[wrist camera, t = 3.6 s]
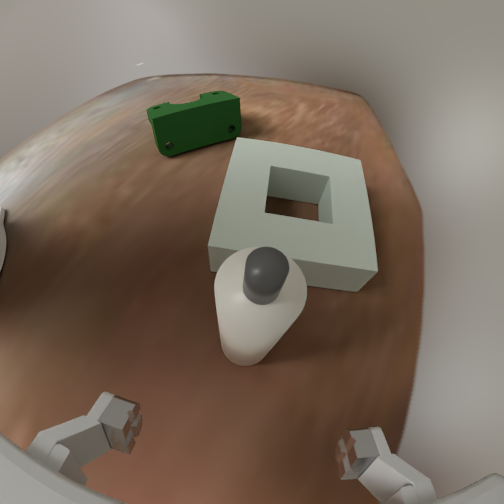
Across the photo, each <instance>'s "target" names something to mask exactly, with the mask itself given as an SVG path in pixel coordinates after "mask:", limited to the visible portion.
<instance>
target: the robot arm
mask: <svg viewBox="0 0 504 504" xmlns="http://www.w3.org/2000/svg"><path fill="white" fill-rule="evenodd" d="M4 215H5V210H4V209H3V208H2V207H1V206H0V272H1V269H2V265H3V262H4V257H5V252H6V233H5V229H4V225H3V222H4ZM139 411H140V404H139V403H137V402H134V401H131V400H128V399H125V398H122V397H120V396H117V395H114V394H111V393H109V392H106V391H105V392H103V393H102V394H101V395H100V397H99V398H98V400H97V401H96V403H95V404H94V406H93V407H92V409H91V410H90V412H89V413H88V415H87V416H84V415H83V416H80V417H78V418H75V419H73V420H70V421H67V422H65V423H62V424H59V425H57V426H54V427H51V428H48V429H46V430H43V431H40V432H39V433H38V435H37V436H36V437H35V439H34V440H33V442H32V443H31V444H30V446H29V447H28V448H27V450H26V451H24V450H23V449H22V448H20V447H19V446H17V445H16V444H15V443H13V442H12V441H11V440H9V439H8V438H7V437H6V436H4V435H3V434H2V433H1V432H0V504H127V503H124V502H121V501H119V500H116V499H114V498H111V497H109V496H106V495H104V494H101V493H99V492H97V491H95V490H92V489H90V488H88V487H86V486H85V484H86V482H87V477H86V475H85V474H84V473H83V471H82V470H81V468H80V467H82V466H84V465H86V464H87V463H89V462H91V461H92V460H94V459H96V458H97V457H99V456H101V455H102V454H104V453H106V452H107V451H109V450H111V448H112V449H115V450H118V451H120V452H123V453H126V454H131V451H132V449H133V447H134V445H135V440H134V438H135V437H136V436H138V435H139V433H140V431H141V427H142V415H141V414H140V413H139ZM342 436H343V438H342V439H340V440H338V442H337V444H336V446H335V460H336V461H337V462H338V463H339V466H338V467H337V470H338V475H339V480H346V479H357V478H358V480H359V481H360V482H361V483H362V484H363V485H364V486H365V487H366V488H367V489H368V490H369V491H370V492H371V494H372V495H373V496H374V497H375V498H376V499H377V500H378V501H379V502H380V503H381V504H504V477H503V476H501V475H499V474H496V473H494V474H490V475H488V476H486V477H485V478H483V479H481V480H479V481H477V482H475V483H473V484H471V485H469V486H467V487H465V488H463V489H461V490H459V491H457V492H454V493H452V494H450V495H448V496H445V497H443V498H440V499H438V498H437V495H436V493H435V490H434V488H433V486H432V483H431V480H430V479H429V478H428V477H427V476H425V475H424V474H422V473H421V472H419V471H418V470H416V469H415V468H413V467H412V466H410V465H409V464H408V463H406V462H405V461H403V460H402V459H401V458H399V457H398V456H397V455H395V454H391V452H390V449H389V447H388V444H387V442H386V439H385V437H384V434H383V432H382V429H381V428H380V427H371V428H356V429H346V430H345V431H344V432H343V434H342Z"/></svg>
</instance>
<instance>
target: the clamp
mask: <svg viewBox="0 0 504 504" xmlns="http://www.w3.org/2000/svg"><path fill="white" fill-rule="evenodd" d="M147 114H148V119H149V121H150V123H151V125H152V129H153V133H154V138H155V142H156V146H157V148H158V149H159V151H160V153H161V154H162V155H164V156H173V155H176V154H179V153H182V152H185V151H189V150H192V149H195V148H199V147H202V146H206V145H209V144H213V143H217V142H220V141H224V140H228V139H232V138H235V137H236V136H238V135H239V133H240V131H241V113H240V98H239V97H236V96H234V95H232V94H230V93H227V92H225V91H214V92H209V93H204V94H200V99H199V100H197V101H194V102H190V103H184V104H170V103H169V102H167V103H163V104H160V105H156V106H153V107H151V108H149V109H147ZM168 142H170V143H169V144H167V143H168ZM166 144H167V145H166Z"/></svg>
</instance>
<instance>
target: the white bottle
mask: <svg viewBox="0 0 504 504" xmlns="http://www.w3.org/2000/svg"><path fill="white" fill-rule="evenodd" d="M214 293H215V302H216V310H217V318H218V326H219V334H220V341H221V348H222V351H223V353H224V355H225V356H226V357H227V359H229V360H230V361H231V362H233V363H234V364H237V365H240V366H250V365H254V364H256V363H258V362H260V361H261V360H262V359H263V358H264V357H265V356H266V355H267V353H268V352H269V351H270V350H271V349H272V348H273V346H274V345H275V344H276V343H277V342H278V341H279V339H280V338H281V337H282V336H283V335H284V333H285V332H286V331H287V330H288V329H289V327H290V326H291V325H292V324H293V322H294V321H295V320H296V319H297V317H298V316H299V315H300V313H301V312H302V310H303V308H304V306H305V303H306V299H307V285H306V280H305V277H304V275H303V273H302V271H301V269H300V268H299V266H298V265H297V264H296V263H295V262H294V261H293V260H292V259H291V258H290V257H289V256H287V255H286V254H284V253H282V252H281V251H279V250H278V249H275V248H273V247H250V248H246V249H243V250H240V251H238V252H236V253H234V254H232V255H231V256H230V257H228V258H227V259H226V260H225V261H224V263H223V264H222V265H221V267H220V268H219V270H218V272H217V274H216V278H215V283H214Z"/></svg>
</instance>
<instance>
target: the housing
mask: <svg viewBox="0 0 504 504" xmlns="http://www.w3.org/2000/svg"><path fill="white" fill-rule="evenodd" d="M267 196H271V197H277V198H283V199H289V200H295V201H301V202H307V203H312V204H318V217H319V222H318V221H312V220H306V219H301V218H295V217H289V216H282V215H276V214H270V213H265V206H266V198H267ZM250 247H273V248H275V249H278V250H279V251H281V252H282V253H284V254H286V255H287V256H289V257H290V258H291V259H292V260H293V261H294V262H295V263H296V264H297V265H298V266H299V268H300V269H301V271H302V273H303V275H304V277H305V280H306V285H307V286H314V287H321V288H329V289H337V290H345V291H353V292H357V291H359V290H360V289H361V288H362V287H363V286H364V285H365V284H366V283H367V282H368V281H369V280H370V279H371V278H372V277H373V276H374V275H375V274H376V273H377V272H378V266H377V257H376V248H375V240H374V233H373V226H372V219H371V213H370V206H369V201H368V195H367V190H366V185H365V180H364V175H363V170H362V165H361V161H360V160H358V159H354V158H350V157H346V156H341V155H337V154H333V153H328V152H324V151H319V150H314V149H309V148H304V147H298V146H293V145H287V144H281V143H275V142H269V141H262V140H255V139H247V138H239V137H237V139H236V142H235V146H234V149H233V153H232V156H231V160H230V163H229V167H228V170H227V174H226V177H225V181H224V185H223V188H222V192H221V196H220V199H219V203H218V207H217V211H216V215H215V218H214V222H213V226H212V230H211V234H210V238H209V242H208V253H209V262H210V270H211V271H212V272H218V270H219V268H220V267H221V265H222V264H223V263H224V261H225V260H226V259H227V258H228V257H230V256H231V255H232V254H234V253H236V252H238V251H240V250H243V249H246V248H250Z"/></svg>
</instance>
